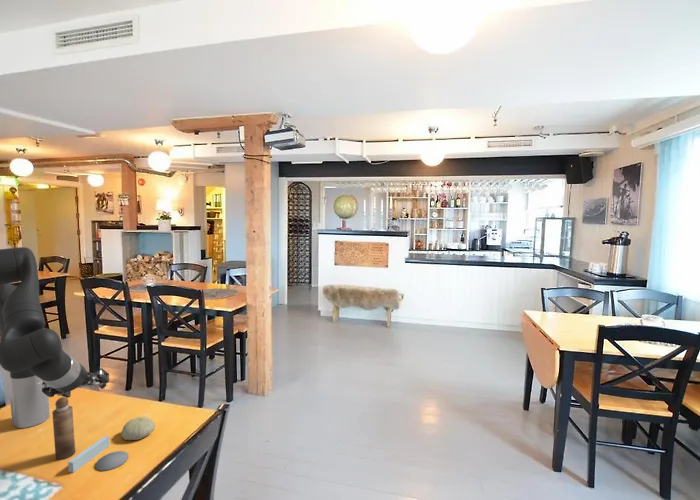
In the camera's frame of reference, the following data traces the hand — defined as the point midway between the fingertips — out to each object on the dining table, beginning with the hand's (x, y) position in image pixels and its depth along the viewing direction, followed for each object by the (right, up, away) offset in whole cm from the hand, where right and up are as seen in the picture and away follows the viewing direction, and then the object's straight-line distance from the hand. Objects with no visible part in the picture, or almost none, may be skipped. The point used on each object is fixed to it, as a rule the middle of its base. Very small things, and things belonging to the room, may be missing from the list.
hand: (86, 389), depth 106 cm
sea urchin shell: (+8, -20, +12) cm, 25 cm away
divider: (+1, -20, 0) cm, 20 cm away
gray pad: (+8, -20, -1) cm, 22 cm away
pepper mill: (-8, -20, +2) cm, 22 cm away
